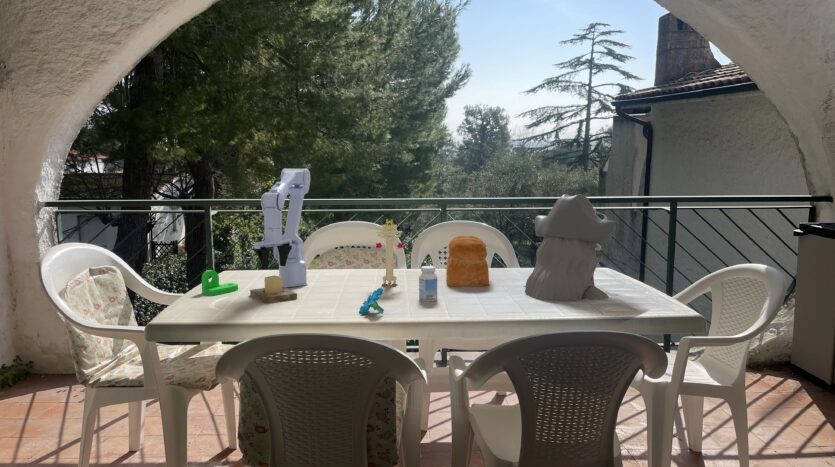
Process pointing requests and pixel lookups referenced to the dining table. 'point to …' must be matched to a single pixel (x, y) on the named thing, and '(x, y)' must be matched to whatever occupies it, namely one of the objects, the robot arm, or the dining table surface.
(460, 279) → the bread
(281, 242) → the robot arm
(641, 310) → the dining table surface
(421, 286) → the pill bottle
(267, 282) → the sand colored cuboid
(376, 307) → the blue flower
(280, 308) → the dining table surface
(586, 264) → the bust
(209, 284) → the mechanical part
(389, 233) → the cat figure
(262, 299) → the brown square frame
